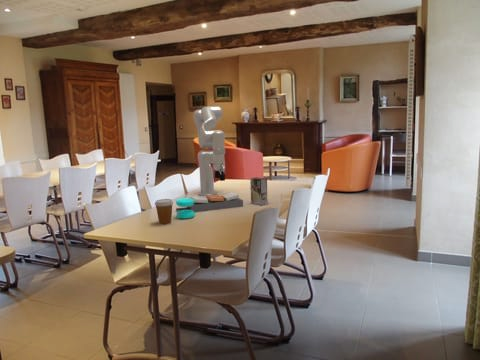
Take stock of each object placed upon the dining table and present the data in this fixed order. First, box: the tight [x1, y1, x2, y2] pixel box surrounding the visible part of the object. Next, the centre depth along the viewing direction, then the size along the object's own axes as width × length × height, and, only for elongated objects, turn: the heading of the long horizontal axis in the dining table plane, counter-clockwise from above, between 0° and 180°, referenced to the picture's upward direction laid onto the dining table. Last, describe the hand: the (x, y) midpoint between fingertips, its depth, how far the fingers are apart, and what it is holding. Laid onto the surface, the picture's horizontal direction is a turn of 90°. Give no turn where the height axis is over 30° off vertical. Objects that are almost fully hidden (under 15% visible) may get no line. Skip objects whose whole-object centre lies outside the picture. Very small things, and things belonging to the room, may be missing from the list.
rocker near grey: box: [190, 195, 208, 203], centre depth 241 cm, size 10×8×2 cm
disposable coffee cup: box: [154, 198, 174, 225], centre depth 211 cm, size 10×10×12 cm
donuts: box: [175, 197, 196, 220], centre depth 223 cm, size 10×10×10 cm
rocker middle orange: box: [205, 194, 224, 201], centre depth 244 cm, size 10×8×2 cm
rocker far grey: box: [220, 191, 240, 201], centre depth 248 cm, size 10×8×2 cm
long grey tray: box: [175, 197, 244, 213], centre depth 243 cm, size 13×40×5 cm, turn 112°
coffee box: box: [250, 176, 268, 206], centre depth 250 cm, size 9×6×16 cm
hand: (219, 179), depth 246 cm, fingers open, 9 cm apart
